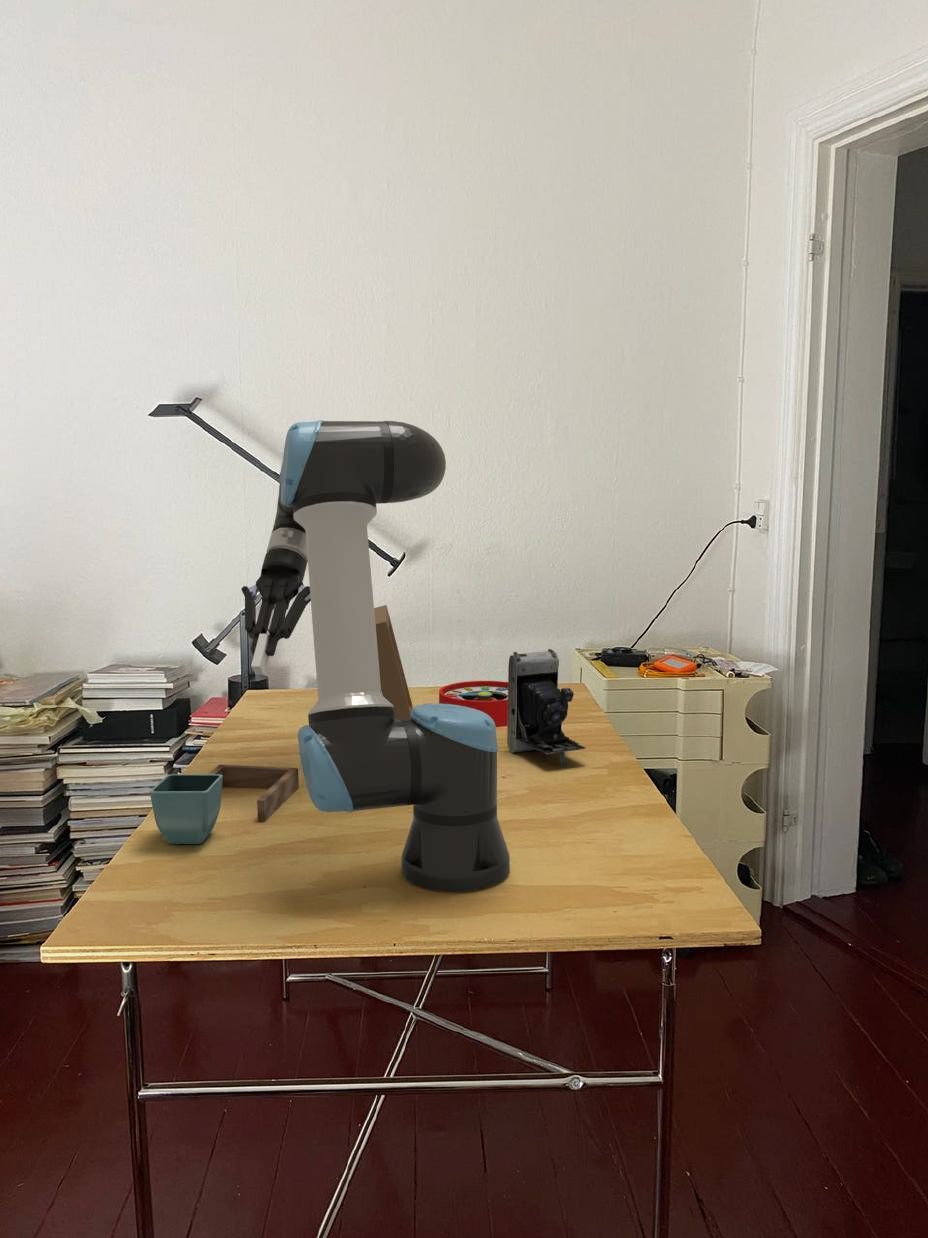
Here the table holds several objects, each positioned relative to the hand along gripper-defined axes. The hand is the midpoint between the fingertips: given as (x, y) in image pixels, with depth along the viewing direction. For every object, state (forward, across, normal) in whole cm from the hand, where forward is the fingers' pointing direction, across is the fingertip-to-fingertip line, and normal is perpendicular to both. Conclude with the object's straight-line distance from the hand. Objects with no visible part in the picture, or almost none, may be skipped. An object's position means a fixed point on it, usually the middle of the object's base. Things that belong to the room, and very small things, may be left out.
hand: (257, 670), depth 177 cm
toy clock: (-26, +28, +59) cm, 70 cm away
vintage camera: (-5, +45, +38) cm, 59 cm away
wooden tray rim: (+18, -3, +13) cm, 22 cm away
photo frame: (-15, +9, +47) cm, 50 cm away
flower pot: (+30, -4, +1) cm, 30 cm away
